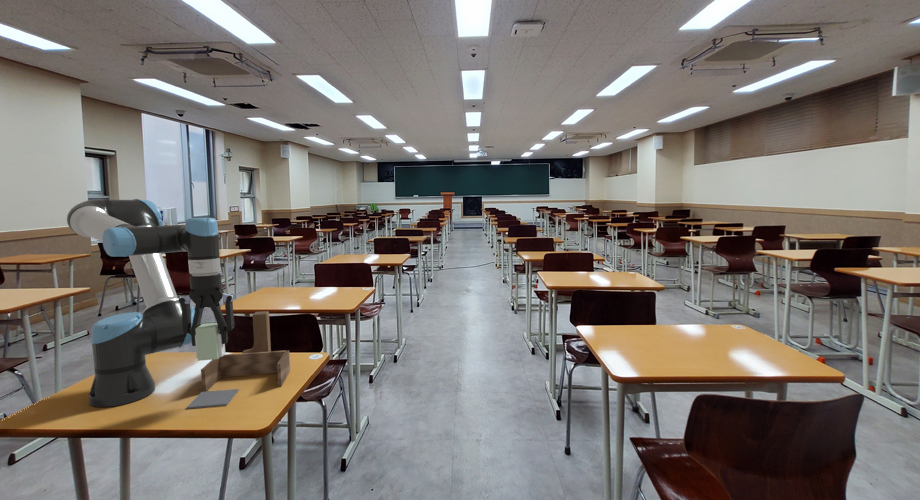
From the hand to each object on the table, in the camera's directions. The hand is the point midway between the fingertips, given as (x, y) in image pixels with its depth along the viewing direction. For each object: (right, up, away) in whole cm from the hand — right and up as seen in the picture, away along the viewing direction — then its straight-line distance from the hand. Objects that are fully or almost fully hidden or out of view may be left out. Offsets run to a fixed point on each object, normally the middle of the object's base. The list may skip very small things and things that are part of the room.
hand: (211, 355), depth 121 cm
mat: (0, -13, +1) cm, 13 cm away
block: (0, 0, 0) cm, 0 cm away
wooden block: (-1, -10, +29) cm, 31 cm away
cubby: (+4, -11, +14) cm, 19 cm away
